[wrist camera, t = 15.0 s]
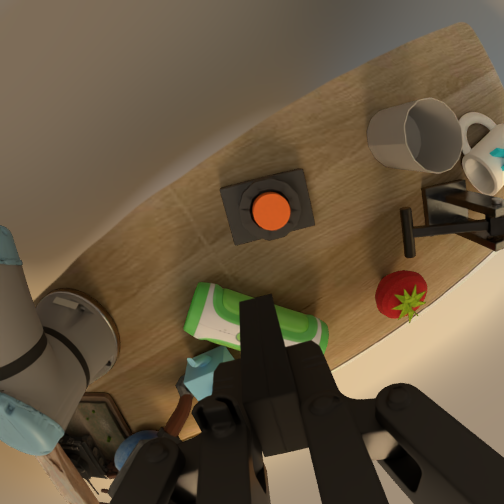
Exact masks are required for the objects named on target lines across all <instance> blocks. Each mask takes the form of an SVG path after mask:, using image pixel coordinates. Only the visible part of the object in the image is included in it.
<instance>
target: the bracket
mask: <svg viewBox="0 0 504 504" xmlns="http://www.w3.org/2000/svg"><path fill="white" fill-rule="evenodd" d="M421 190H422V197H423V205H424V215H425V225H434V224H443V223H453V222H463V221H473V220H474V219H471V218H468V209H469V210H472V211H476V212H479V213H482V214H485V215H489V216H492V217H495V218H497V217H500V216H503V215H504V199H501V198H497V197H493V196H489V195H485V194H480V193H476V192H471V191H467V190H466V183H465V180H462V179H460V180H455V181H451V182H446V183H442V184H437V185H433V186H428V187H424V188H421ZM455 234H457V235H459V236H462V237H464V238H466V239H469V240H471V241H473V242H476V243H478V244H480V245H482V246H485V247H487V248H489V249H491V250H493V251H499V250H501V249H503V248H504V235H498V236H490V235H489V233H488V232H487V231H486V230H483V231H473V232H464V233H455ZM430 237H431V236H430Z"/></svg>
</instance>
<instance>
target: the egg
mask: <svg viewBox="0 0 504 504" xmlns="http://www.w3.org/2000/svg"><path fill="white" fill-rule="evenodd" d="M157 433H158V431H155V430H143V431H140V432H137V433H135V434H132V435H131V436H129V437H128V438H127V439H125V440H124V441H123V442H122V443H121V445H120V446H119V448H118V449H117V451H116V454H115V460H114V462H115V466H116V468H117V469H118V470H119V471H120V469H121V468H122V466H123V465H124V463H125V461H126V460H127V458H128V457H129V455H130V453H131V452H132V451H133V449H134V448H135V446H136V445H137V443H138V442H139V440H145V439H152V438H156V437H158V436H157Z"/></svg>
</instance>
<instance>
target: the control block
mask: <svg viewBox="0 0 504 504" xmlns="http://www.w3.org/2000/svg"><path fill="white" fill-rule="evenodd" d="M265 192H275V193H278V194H279V195H281V196H282V197H283V198H285V199H286V201H287V202H288V204H289V206H290V217H289V220H288V222H287V223H286V224H285V225H284V226H283V227H281V228H280V229H277V230H266V229H263V228H262V227H260V226H259V225H258V224H257V223H256V221H255V219H254V216H253V212H252V207H253V203H254V201H255V199H256V198H257V197H258V196H259V195H261V194H263V193H265ZM220 193H221V197H222V200H223V204H224V207H225V211H226V215H227V218H228V222H229V226H230V229H231V233H232V237H233V240H234V244H235V246H236V245H240V244H244V243H248V242H252V241H256V240H259V239H265V240H274V239H278V238H282V237H285V236H286V235H287V234H288V233H289V232H291V231H295V230H298V229H302V228H306V227H310V226H314V225H315V222H314V217H313V213H312V208H311V203H310V199H309V194H308V190H307V185H306V181H305V176H304V172H303V169H294V170H290V171H286V172H282V173H277V174H273V175H269V176H265V177H261V178H257V179H253V180H249V181H245V182H241V183H237V184H234V185H230V186H226V187H222V188H221V189H220Z"/></svg>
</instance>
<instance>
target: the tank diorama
mask: <svg viewBox="0 0 504 504" xmlns="http://www.w3.org/2000/svg"><path fill="white" fill-rule="evenodd" d="M131 435H132V433H131V431H130V430H129V428H128V426H127V425H126V423H125V421H124V419H123V418H122V416H121V414H120V412H119V411H118V409H117V407H116V405H115V403H114V402H113V400H112V398H111V397H110V395H108V394H106V393H84V394H83V396H82V398H81V400H80V402H79V404H78V406H77V408H76V410H75V412H74V414H73V416H72V418H71V420H70V422H69V424H68V426H67V428H66V430H65V433H64V436H63V437H62V438H60V440H59V441H58V443H59V444H60V446H61V447H62V449H63V450H64V452H65V454H66V455H67V456H68V458H69V459H70V460H71V462H72V463H73V465H74V466H75V468H76V469H77V471H78V472H79V474H80V475H81V476H82V478H84V479H86V480H87V481H88V482H89V484H90V485H91V486H92V484H91V483H90V481H89V479H90V478H91V477H98V478H105V479H107V477H108V478H109V479H114V478H116V476H117V474H118V473H119V470H118V469H117V468H116V466H115V462H114V460H115V454H116V451H117V449H118V448H119V446H120V445H121V443H122V442H123V441H124V440H125V439H127V438H128V437H129V436H131ZM104 475H106V476H107V477H105V476H104ZM92 487H93V486H92ZM93 489H94V490H95V488H94V487H93ZM95 491H96V490H95ZM96 492H97V491H96ZM101 492H104V493H107V492H108V489H102V490H101ZM97 494H99V493H98V492H97ZM99 504H109V503H103V502H99Z"/></svg>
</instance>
